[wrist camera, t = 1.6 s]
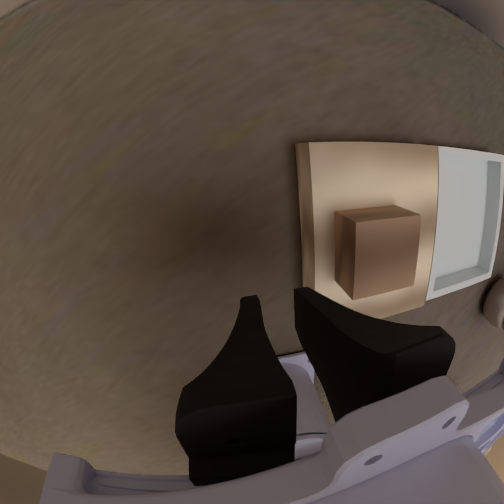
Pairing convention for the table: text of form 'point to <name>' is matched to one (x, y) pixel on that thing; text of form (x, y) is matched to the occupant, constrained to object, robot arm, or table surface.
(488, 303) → the plastic bottle
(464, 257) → the box
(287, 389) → the robot arm
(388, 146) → the tan wooden flat block
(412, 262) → the brown block
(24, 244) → the table surface
